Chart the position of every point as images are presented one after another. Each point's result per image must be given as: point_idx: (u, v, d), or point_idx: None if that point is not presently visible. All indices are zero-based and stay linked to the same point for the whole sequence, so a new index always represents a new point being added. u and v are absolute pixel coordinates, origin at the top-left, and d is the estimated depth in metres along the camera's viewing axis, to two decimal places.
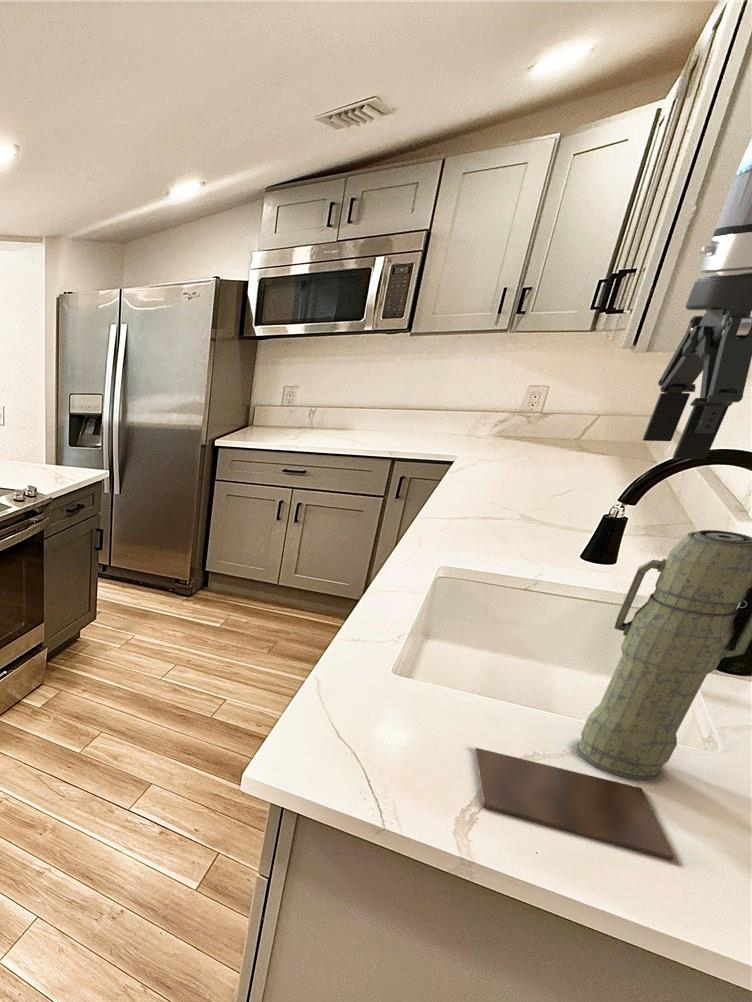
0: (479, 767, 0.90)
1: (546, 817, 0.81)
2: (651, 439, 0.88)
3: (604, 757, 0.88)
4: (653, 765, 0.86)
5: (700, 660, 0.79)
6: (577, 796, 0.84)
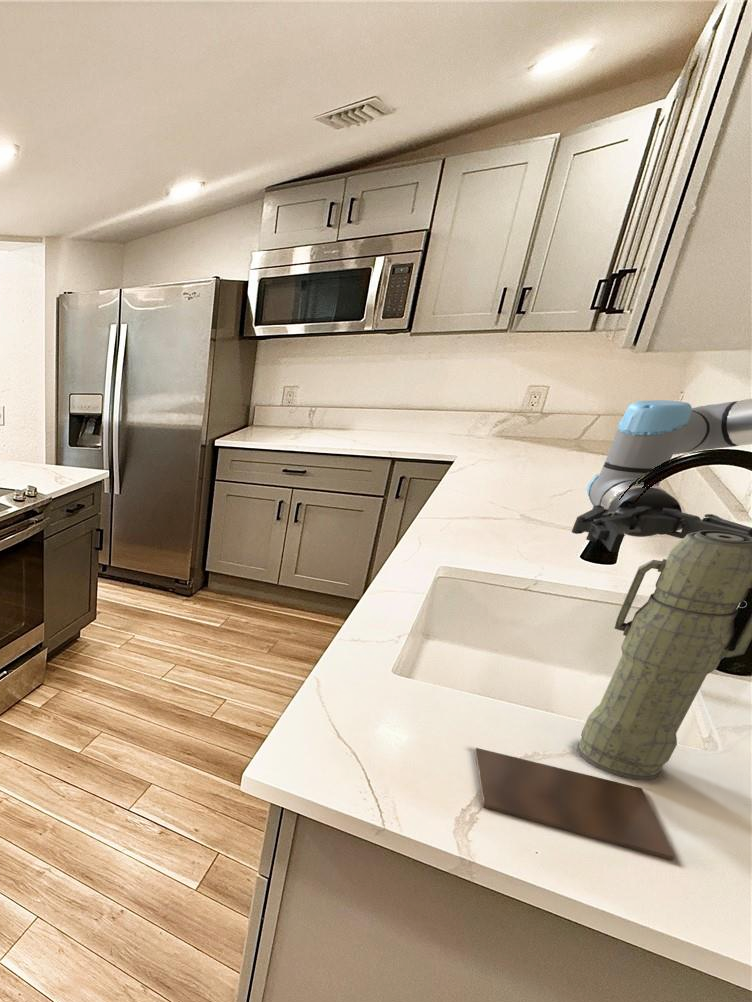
0: (479, 767, 0.90)
1: (546, 817, 0.81)
2: None
3: (604, 757, 0.88)
4: (653, 765, 0.86)
5: (700, 660, 0.79)
6: (577, 796, 0.84)
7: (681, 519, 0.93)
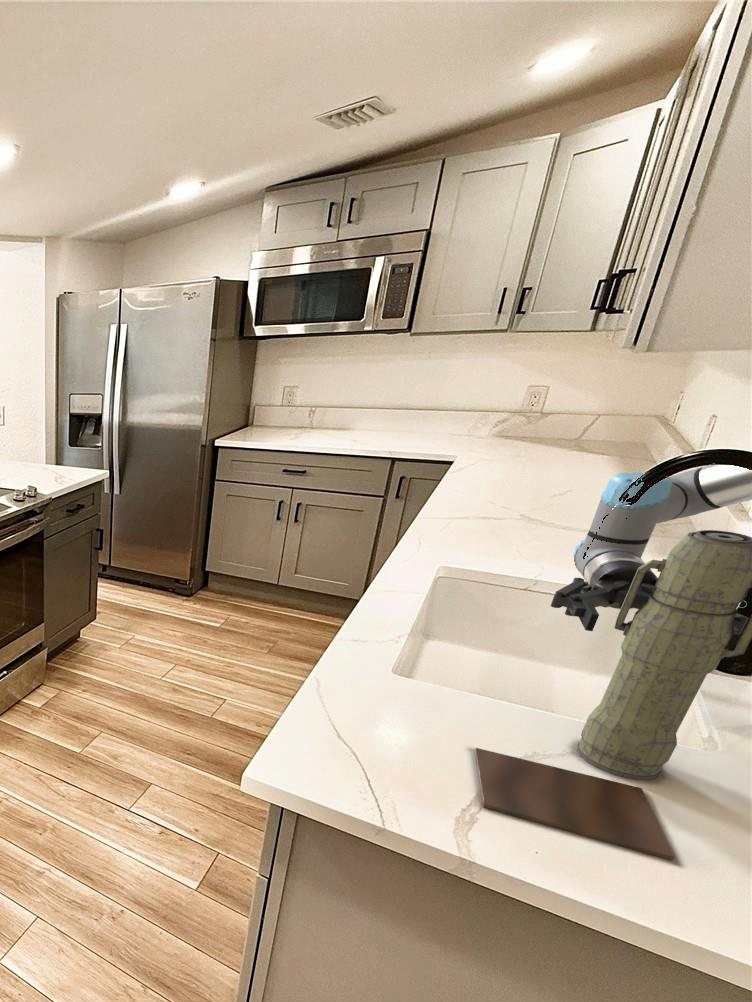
0: (479, 767, 0.90)
1: (546, 817, 0.81)
2: None
3: (604, 757, 0.88)
4: (653, 765, 0.86)
5: (700, 660, 0.79)
6: (577, 796, 0.84)
7: None
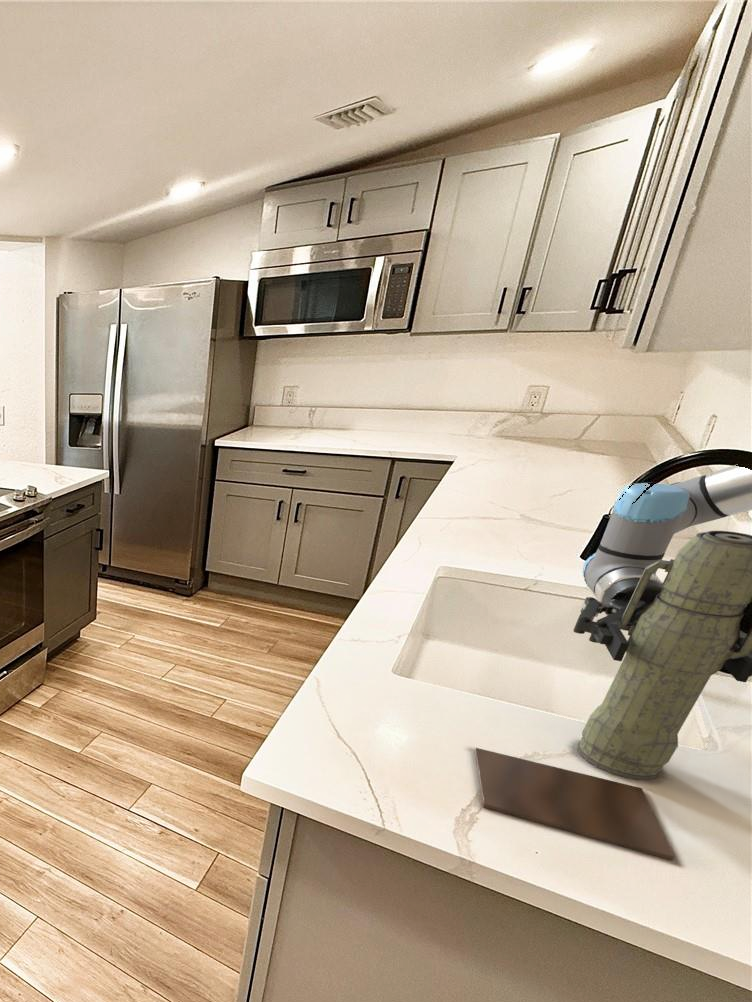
0: (479, 767, 0.90)
1: (546, 817, 0.81)
2: (738, 675, 0.77)
3: (605, 756, 0.88)
4: (654, 766, 0.85)
5: (704, 661, 0.78)
6: (577, 796, 0.84)
7: None
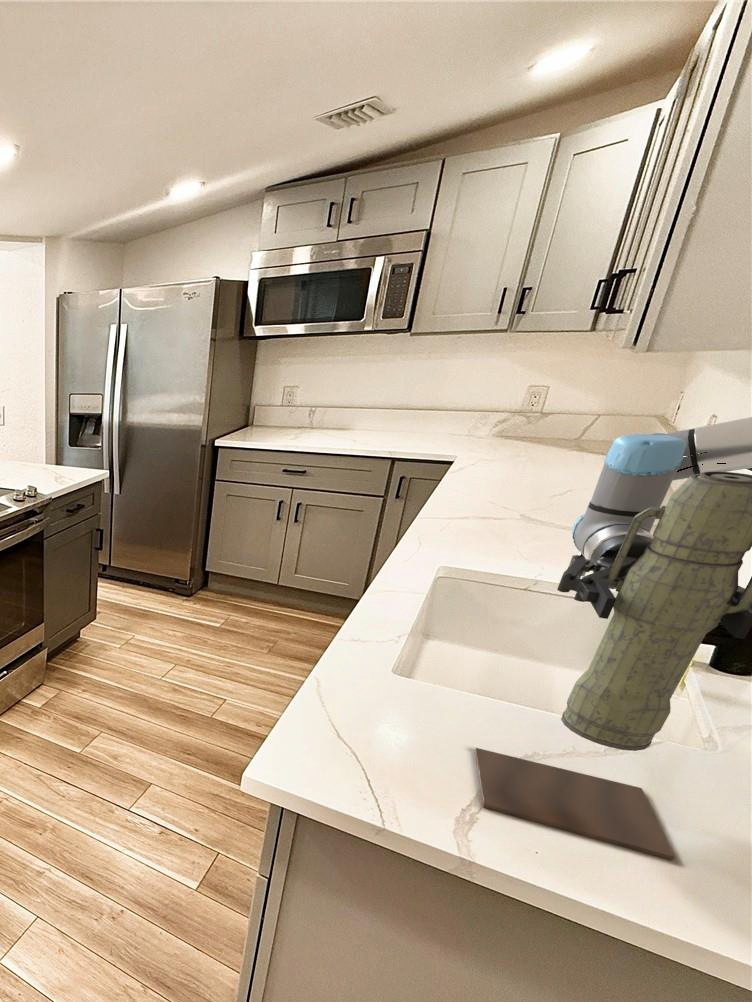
0: (479, 767, 0.90)
1: (546, 817, 0.81)
2: (736, 631, 0.70)
3: (591, 725, 0.81)
4: (644, 735, 0.78)
5: (699, 616, 0.71)
6: (577, 796, 0.84)
7: None
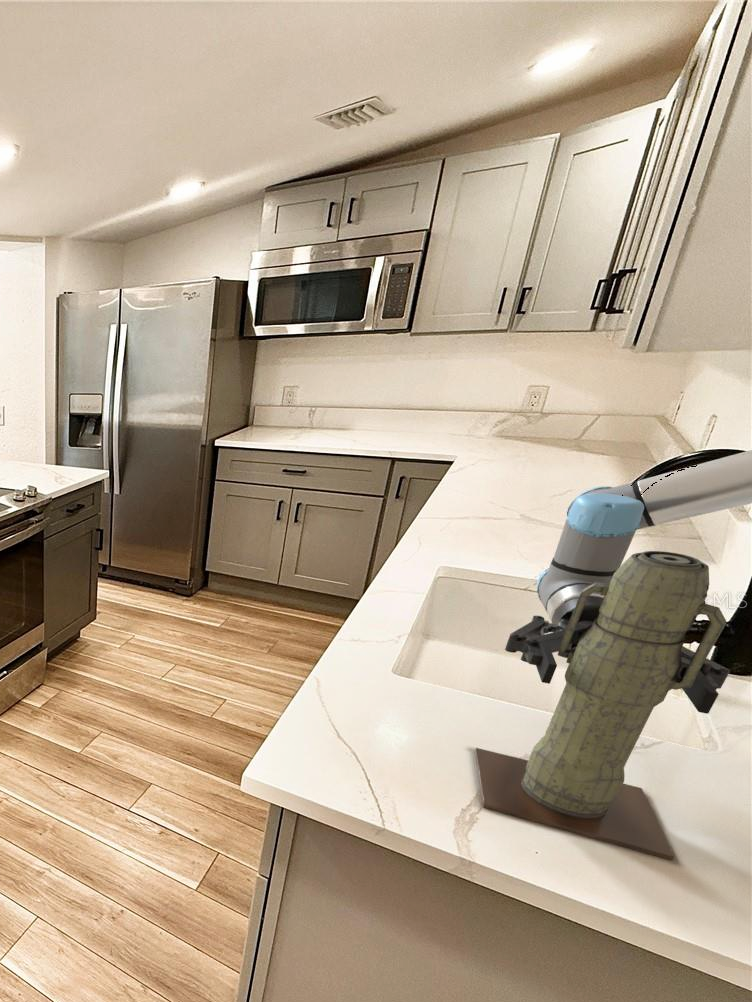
0: (479, 767, 0.90)
1: (546, 817, 0.81)
2: (700, 706, 0.71)
3: (548, 793, 0.82)
4: (599, 803, 0.79)
5: (644, 692, 0.72)
6: None
7: None
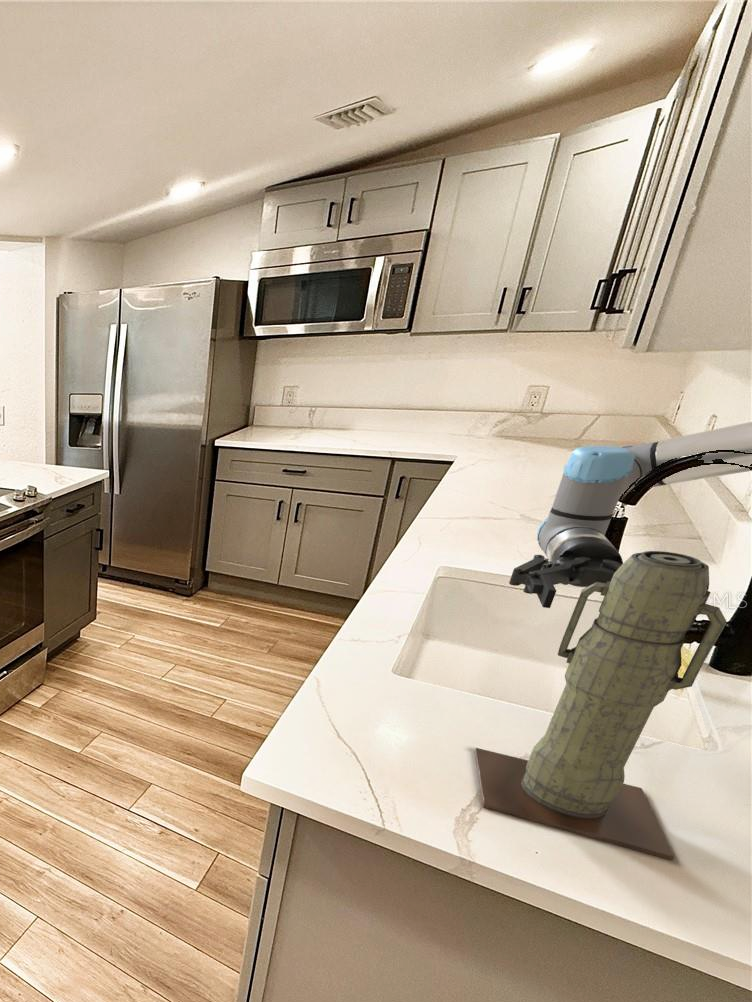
0: (479, 767, 0.90)
1: (546, 817, 0.81)
2: None
3: (548, 793, 0.82)
4: (599, 803, 0.79)
5: (645, 692, 0.72)
6: None
7: None
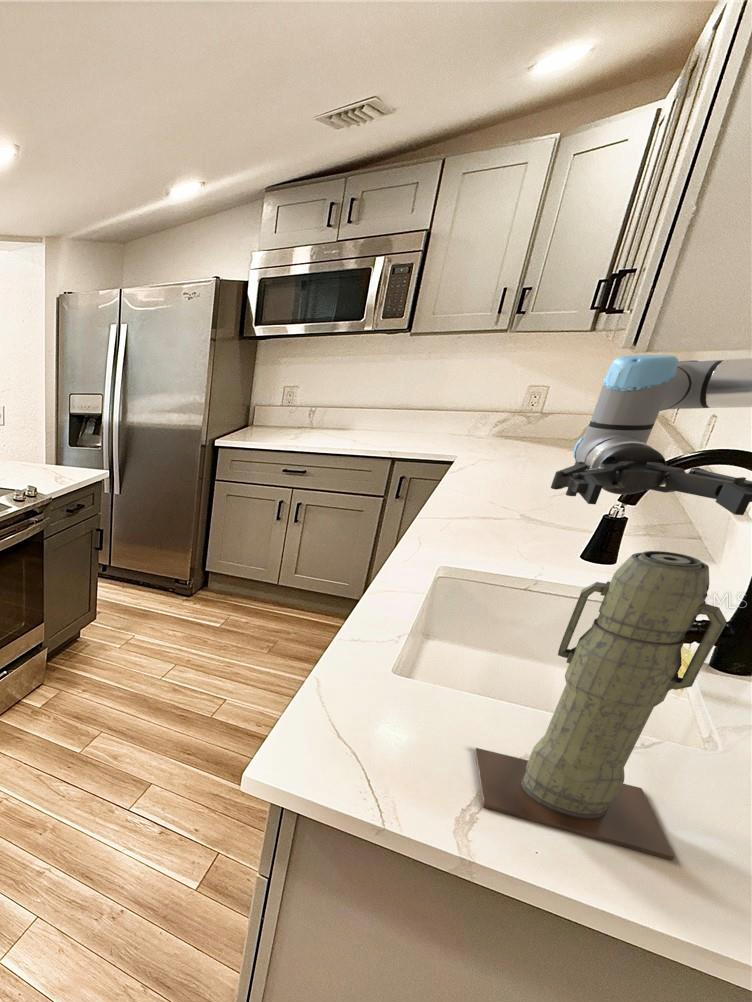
0: (479, 767, 0.90)
1: (546, 817, 0.81)
2: (736, 508, 0.78)
3: (548, 793, 0.82)
4: (599, 803, 0.79)
5: (645, 692, 0.72)
6: None
7: (665, 472, 0.89)
